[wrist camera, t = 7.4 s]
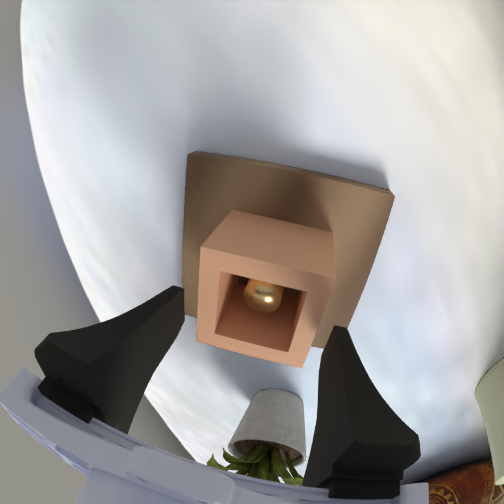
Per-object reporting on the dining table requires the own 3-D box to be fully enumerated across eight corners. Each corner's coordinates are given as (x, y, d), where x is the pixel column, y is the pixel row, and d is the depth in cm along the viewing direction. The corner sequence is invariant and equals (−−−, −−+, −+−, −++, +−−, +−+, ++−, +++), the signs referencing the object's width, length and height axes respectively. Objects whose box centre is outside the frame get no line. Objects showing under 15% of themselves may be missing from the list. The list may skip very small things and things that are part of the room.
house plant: (173, 378, 29) (106, 505, 14) (269, 327, 22) (203, 539, 8) (263, 440, 31) (231, 553, 17) (362, 409, 25) (352, 560, 11)
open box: (332, 232, 17) (335, 277, 12) (308, 312, 19) (301, 368, 15) (232, 209, 17) (200, 246, 13) (222, 291, 20) (196, 340, 16)
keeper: (390, 190, 16) (412, 218, 12) (336, 340, 22) (336, 387, 17) (195, 151, 17) (158, 165, 13) (188, 304, 23) (163, 343, 19)
